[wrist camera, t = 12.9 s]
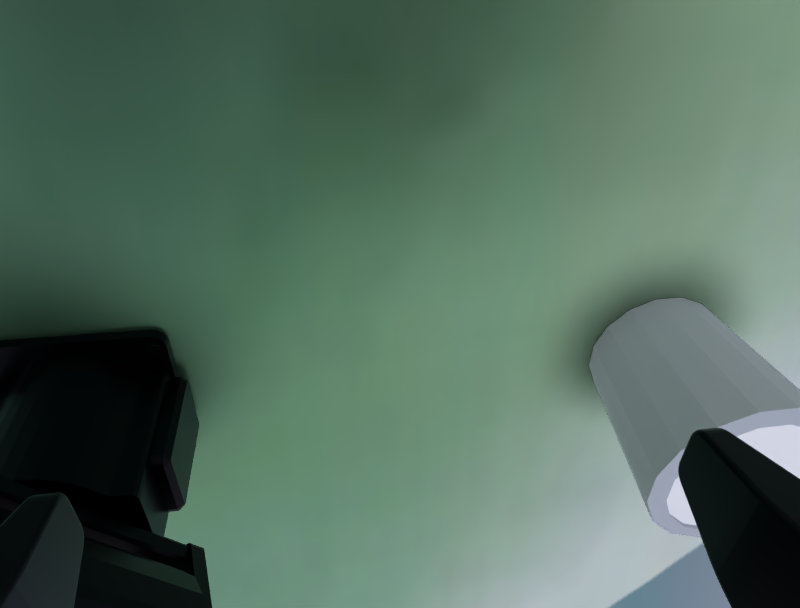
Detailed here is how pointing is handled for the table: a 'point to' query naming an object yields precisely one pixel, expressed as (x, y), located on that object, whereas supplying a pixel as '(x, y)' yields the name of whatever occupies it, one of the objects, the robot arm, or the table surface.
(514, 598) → the table surface
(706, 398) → the shot glass
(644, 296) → the table surface
